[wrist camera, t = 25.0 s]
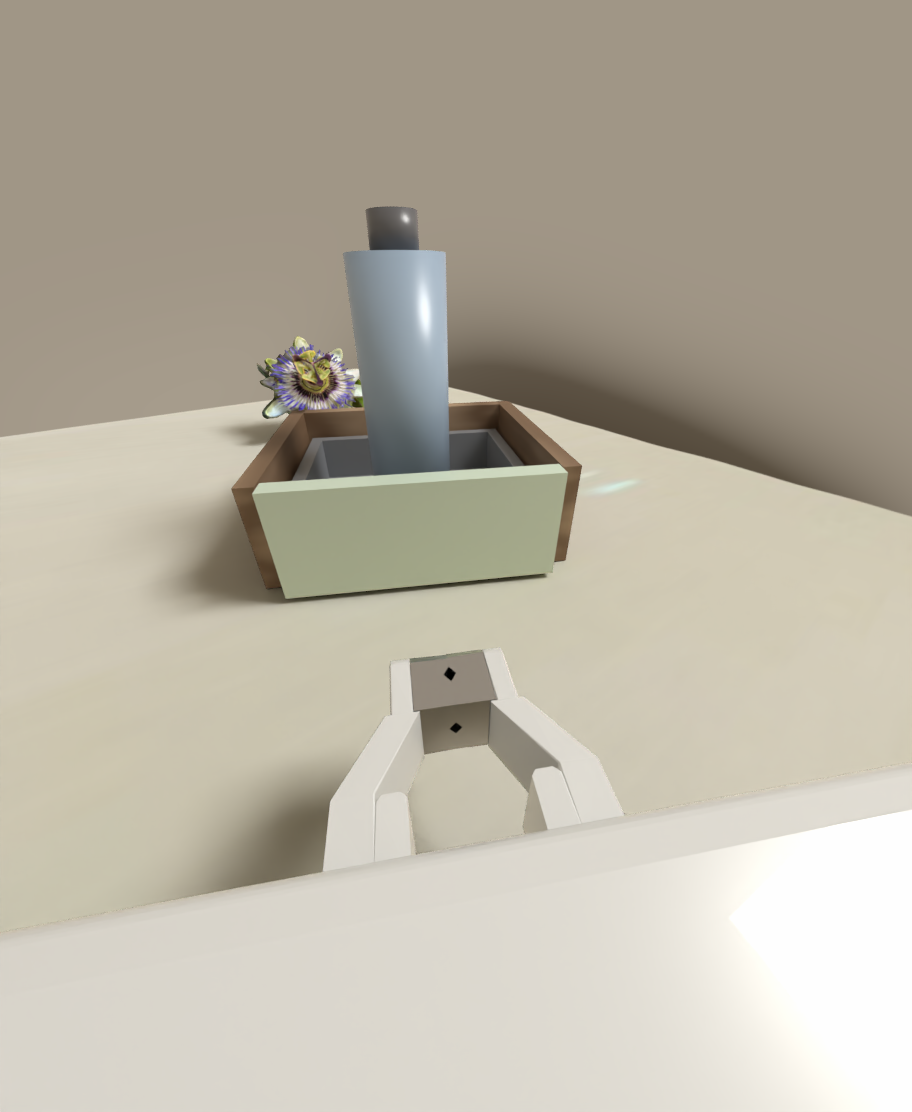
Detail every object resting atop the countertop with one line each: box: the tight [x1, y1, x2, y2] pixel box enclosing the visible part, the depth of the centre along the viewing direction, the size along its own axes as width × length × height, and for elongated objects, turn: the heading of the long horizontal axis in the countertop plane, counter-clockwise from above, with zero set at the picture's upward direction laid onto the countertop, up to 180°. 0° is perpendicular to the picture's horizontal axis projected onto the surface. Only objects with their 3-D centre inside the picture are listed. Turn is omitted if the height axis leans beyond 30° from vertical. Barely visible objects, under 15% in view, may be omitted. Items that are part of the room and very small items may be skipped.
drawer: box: [252, 429, 568, 599], centre depth 26 cm, size 15×15×6 cm
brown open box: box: [232, 401, 582, 589], centre depth 28 cm, size 17×15×6 cm
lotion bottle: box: [343, 207, 450, 476], centre depth 23 cm, size 5×5×16 cm
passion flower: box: [257, 336, 364, 419], centre depth 45 cm, size 11×11×12 cm
